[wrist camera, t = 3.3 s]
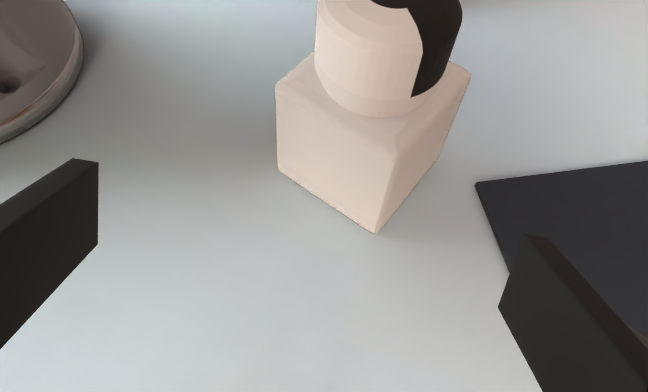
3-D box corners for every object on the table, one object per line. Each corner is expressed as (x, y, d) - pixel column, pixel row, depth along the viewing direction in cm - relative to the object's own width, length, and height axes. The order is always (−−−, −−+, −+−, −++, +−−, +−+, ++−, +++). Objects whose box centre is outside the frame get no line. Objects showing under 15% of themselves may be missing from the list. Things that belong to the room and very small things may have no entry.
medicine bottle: (345, 101, 33) (369, -82, 23) (439, 157, 31) (511, -16, 21) (274, 171, 30) (267, -7, 20) (375, 238, 28) (423, 78, 18)
